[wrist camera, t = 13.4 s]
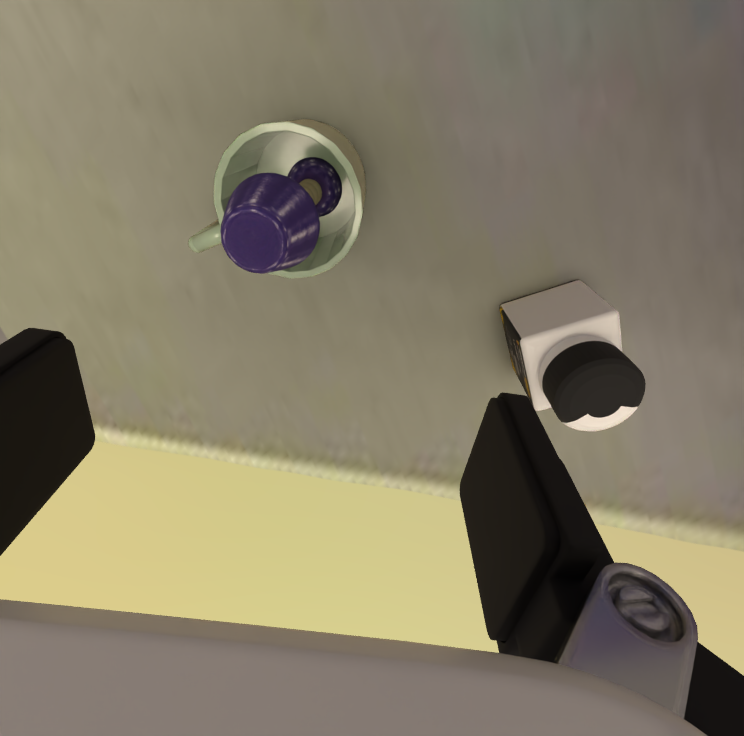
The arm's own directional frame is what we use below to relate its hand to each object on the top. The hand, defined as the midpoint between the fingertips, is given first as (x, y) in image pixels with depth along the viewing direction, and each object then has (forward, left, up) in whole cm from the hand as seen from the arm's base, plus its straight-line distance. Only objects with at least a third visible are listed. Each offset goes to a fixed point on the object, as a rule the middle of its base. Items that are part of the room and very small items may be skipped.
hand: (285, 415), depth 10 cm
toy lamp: (-1, -3, -27) cm, 28 cm away
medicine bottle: (+8, +19, -28) cm, 35 cm away
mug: (0, -5, -28) cm, 28 cm away
